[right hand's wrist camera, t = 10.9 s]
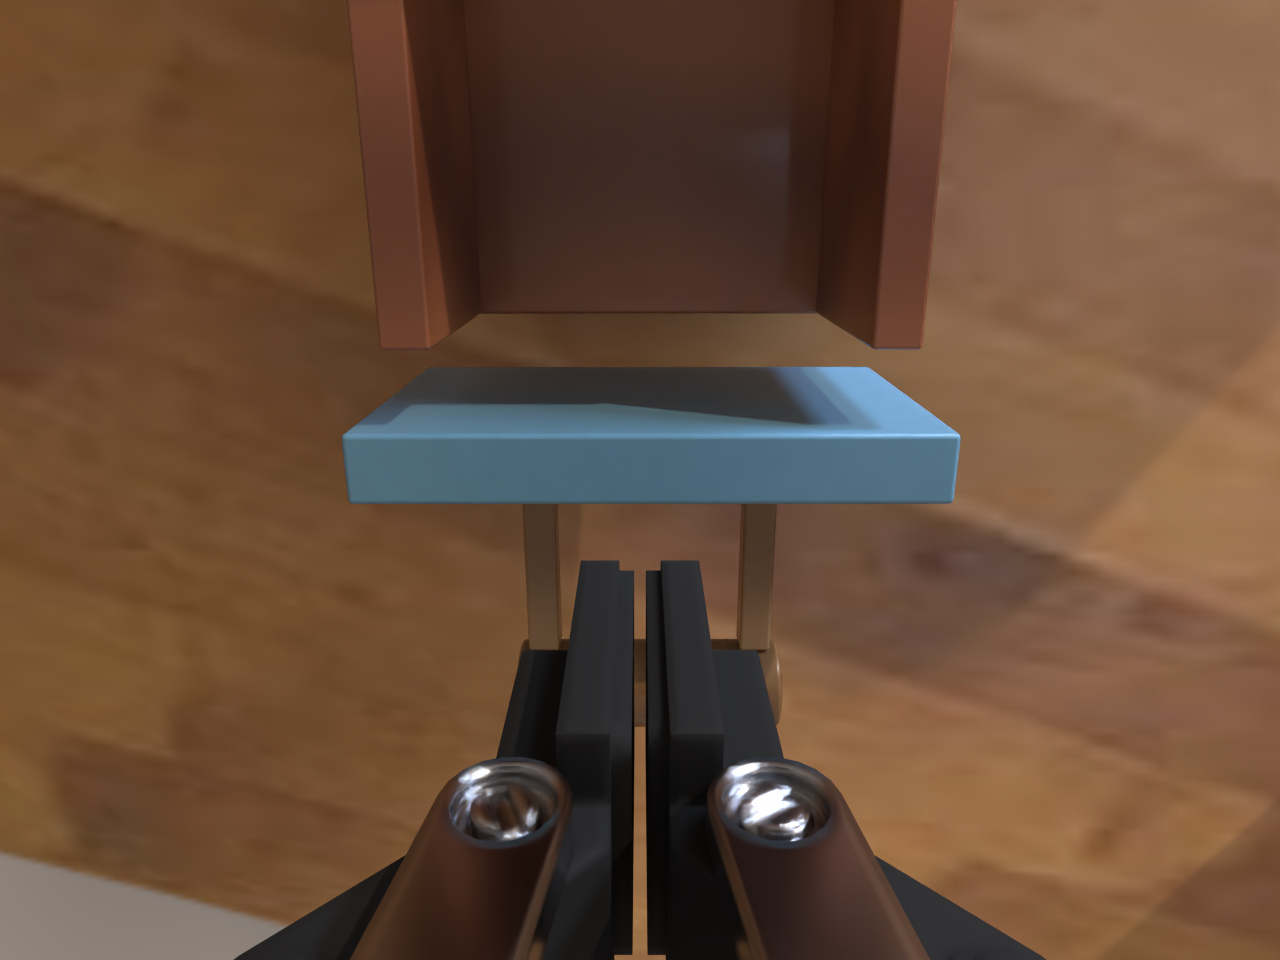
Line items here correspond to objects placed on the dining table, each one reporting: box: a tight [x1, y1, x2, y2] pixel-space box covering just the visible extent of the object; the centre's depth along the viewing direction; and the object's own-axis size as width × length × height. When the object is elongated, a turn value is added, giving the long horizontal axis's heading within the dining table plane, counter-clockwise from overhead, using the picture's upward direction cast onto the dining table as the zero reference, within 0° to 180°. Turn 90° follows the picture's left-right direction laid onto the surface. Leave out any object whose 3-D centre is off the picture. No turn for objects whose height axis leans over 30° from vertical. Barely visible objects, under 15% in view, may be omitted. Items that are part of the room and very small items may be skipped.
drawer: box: [342, 0, 961, 727], centre depth 15 cm, size 25×10×6 cm, turn 0°
